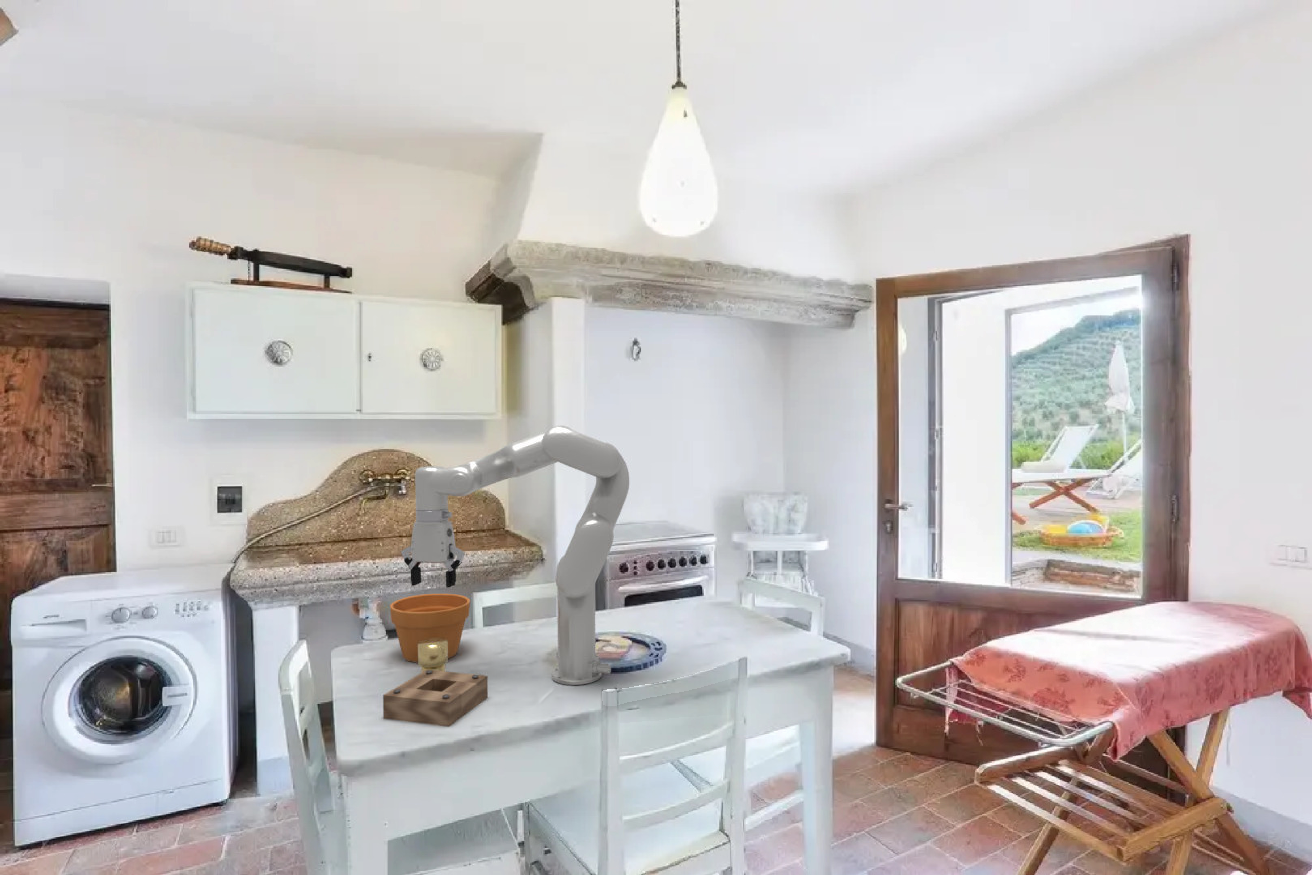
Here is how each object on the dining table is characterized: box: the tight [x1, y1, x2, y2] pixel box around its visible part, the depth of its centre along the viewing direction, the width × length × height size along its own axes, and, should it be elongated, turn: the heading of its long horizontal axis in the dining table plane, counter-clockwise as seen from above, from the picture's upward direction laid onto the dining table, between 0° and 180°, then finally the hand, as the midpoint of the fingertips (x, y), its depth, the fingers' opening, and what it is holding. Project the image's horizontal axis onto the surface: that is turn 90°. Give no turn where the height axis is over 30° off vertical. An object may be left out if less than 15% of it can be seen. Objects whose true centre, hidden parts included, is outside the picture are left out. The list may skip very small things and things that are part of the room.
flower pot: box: [389, 593, 471, 663], centre depth 193 cm, size 21×21×15 cm
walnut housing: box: [382, 670, 489, 727], centre depth 154 cm, size 16×16×6 cm
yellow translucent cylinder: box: [417, 638, 449, 673], centre depth 172 cm, size 7×7×10 cm
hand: (433, 585), depth 172 cm, fingers open, 9 cm apart
